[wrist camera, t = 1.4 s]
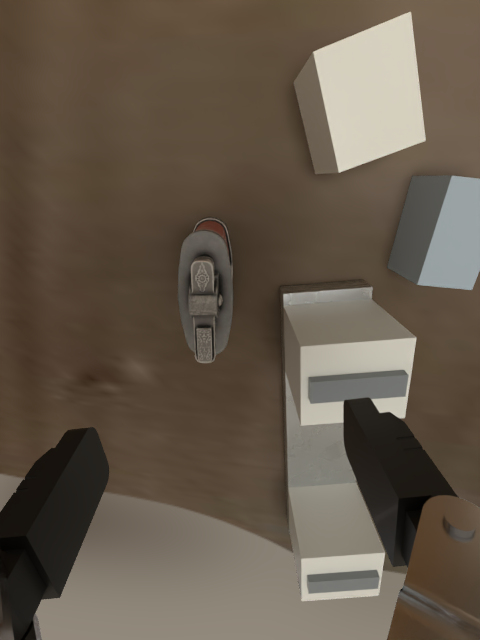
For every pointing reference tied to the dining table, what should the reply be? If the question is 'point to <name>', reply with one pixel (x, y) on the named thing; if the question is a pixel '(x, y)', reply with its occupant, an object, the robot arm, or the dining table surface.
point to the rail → (300, 441)
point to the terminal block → (439, 232)
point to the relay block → (361, 97)
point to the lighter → (206, 288)
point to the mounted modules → (327, 407)
